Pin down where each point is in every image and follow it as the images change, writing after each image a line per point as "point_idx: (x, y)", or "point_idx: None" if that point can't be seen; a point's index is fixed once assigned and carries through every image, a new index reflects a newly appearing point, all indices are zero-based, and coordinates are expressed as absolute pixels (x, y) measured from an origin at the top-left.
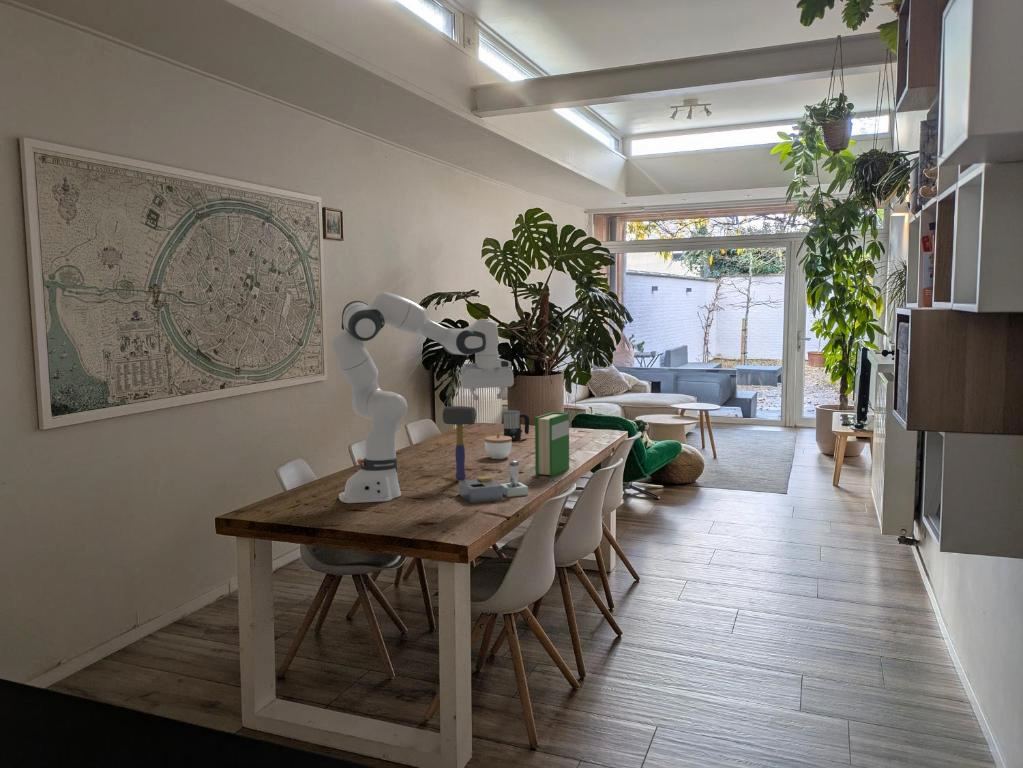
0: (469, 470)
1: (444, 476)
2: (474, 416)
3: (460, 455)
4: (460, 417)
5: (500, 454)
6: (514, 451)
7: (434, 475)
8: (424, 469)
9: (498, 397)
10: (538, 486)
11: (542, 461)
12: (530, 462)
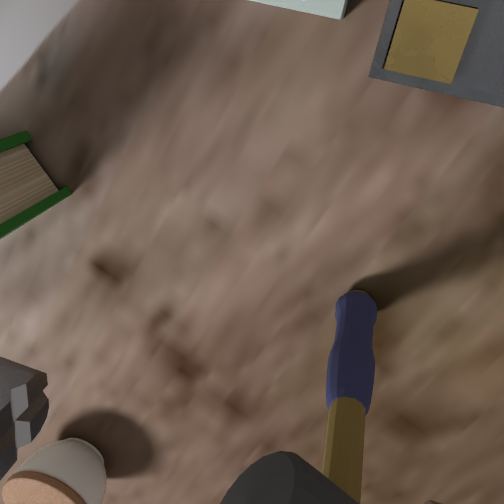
0: (239, 395)
1: None
2: (251, 498)
3: (362, 357)
4: None
5: (77, 447)
6: None
7: (383, 418)
8: None
9: (26, 381)
10: (139, 12)
11: (11, 192)
12: (18, 353)
